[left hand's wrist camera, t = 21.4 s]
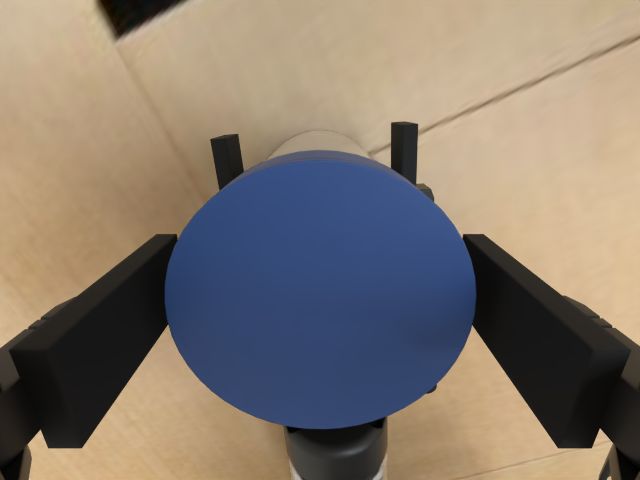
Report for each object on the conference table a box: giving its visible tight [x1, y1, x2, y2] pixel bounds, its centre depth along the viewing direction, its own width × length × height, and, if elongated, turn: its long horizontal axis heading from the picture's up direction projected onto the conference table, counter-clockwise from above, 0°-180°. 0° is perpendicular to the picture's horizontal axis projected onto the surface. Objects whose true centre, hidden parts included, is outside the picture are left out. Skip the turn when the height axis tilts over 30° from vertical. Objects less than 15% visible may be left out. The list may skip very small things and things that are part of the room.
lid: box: [165, 150, 476, 429], centre depth 11 cm, size 9×9×2 cm
